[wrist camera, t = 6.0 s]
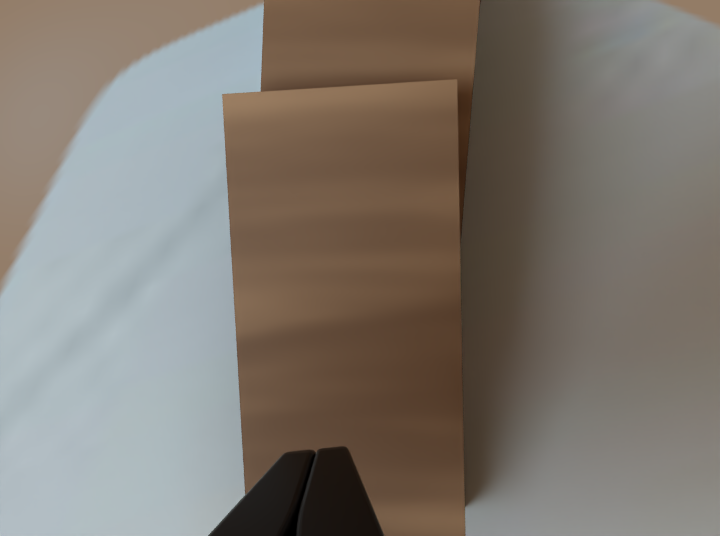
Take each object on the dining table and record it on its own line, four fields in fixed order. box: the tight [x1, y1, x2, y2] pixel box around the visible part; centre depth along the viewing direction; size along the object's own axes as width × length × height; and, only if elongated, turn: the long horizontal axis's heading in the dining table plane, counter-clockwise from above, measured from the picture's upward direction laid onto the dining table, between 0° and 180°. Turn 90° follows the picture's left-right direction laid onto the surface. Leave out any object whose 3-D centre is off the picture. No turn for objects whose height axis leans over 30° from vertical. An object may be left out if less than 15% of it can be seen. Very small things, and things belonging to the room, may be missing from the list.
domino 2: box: [222, 79, 465, 536], centre depth 14 cm, size 2×5×10 cm
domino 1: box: [261, 0, 480, 244], centre depth 15 cm, size 2×5×10 cm
